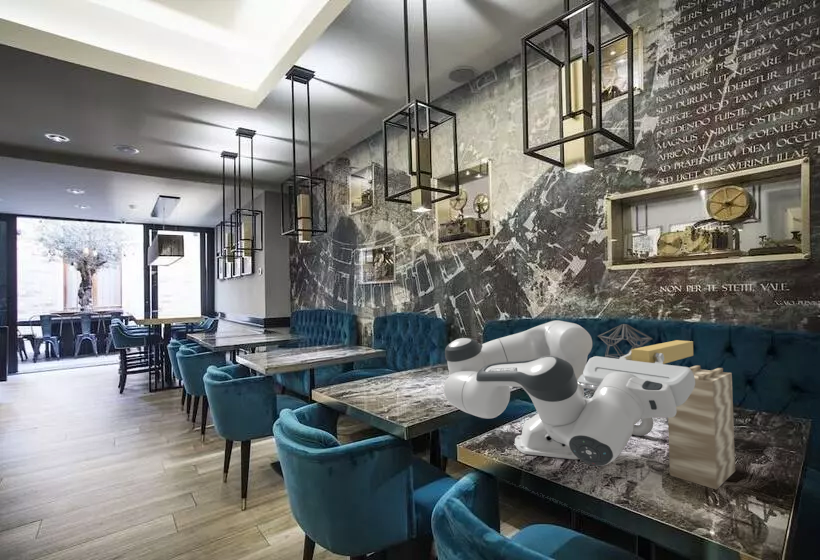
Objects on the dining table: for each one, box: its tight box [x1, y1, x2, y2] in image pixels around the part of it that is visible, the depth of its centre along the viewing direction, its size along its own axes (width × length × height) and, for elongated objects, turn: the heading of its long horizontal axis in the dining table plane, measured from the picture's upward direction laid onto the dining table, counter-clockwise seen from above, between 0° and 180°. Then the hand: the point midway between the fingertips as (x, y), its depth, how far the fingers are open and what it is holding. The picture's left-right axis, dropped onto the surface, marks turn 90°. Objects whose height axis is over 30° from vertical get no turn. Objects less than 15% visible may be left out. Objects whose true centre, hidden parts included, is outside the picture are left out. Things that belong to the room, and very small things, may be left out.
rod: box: [630, 339, 694, 365], centre depth 94 cm, size 26×4×4 cm, turn 128°
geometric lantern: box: [597, 323, 653, 359], centre depth 165 cm, size 16×16×35 cm
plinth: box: [667, 364, 736, 490], centre depth 107 cm, size 16×10×27 cm, turn 128°
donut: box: [631, 418, 654, 437], centre depth 135 cm, size 10×4×10 cm, turn 52°
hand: (647, 354), depth 88 cm, fingers closed on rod, 3 cm apart
